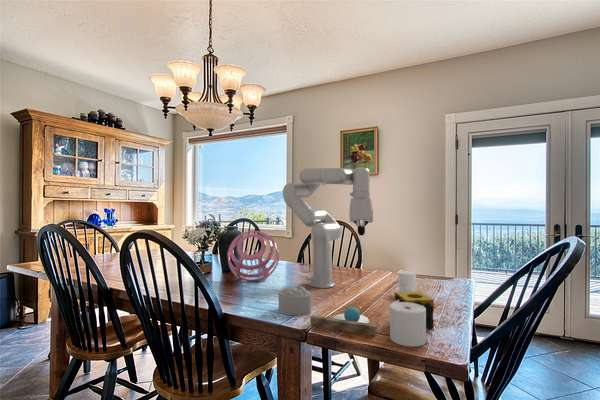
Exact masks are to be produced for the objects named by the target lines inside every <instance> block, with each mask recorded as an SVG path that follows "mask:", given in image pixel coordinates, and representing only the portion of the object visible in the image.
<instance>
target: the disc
mask: <svg viewBox="0 0 600 400" xmlns="http://www.w3.org/2000/svg"><path fill="white" fill-rule="evenodd" d="M332 318H334V319H341V320H345V318H344V312H343V313H338V314H336V315H334V316H333V317H332ZM358 322H361V323H368V324H370V320H369V318H368V317H367V316H365V315H363V314H360V319H359V321H358Z"/></svg>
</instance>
